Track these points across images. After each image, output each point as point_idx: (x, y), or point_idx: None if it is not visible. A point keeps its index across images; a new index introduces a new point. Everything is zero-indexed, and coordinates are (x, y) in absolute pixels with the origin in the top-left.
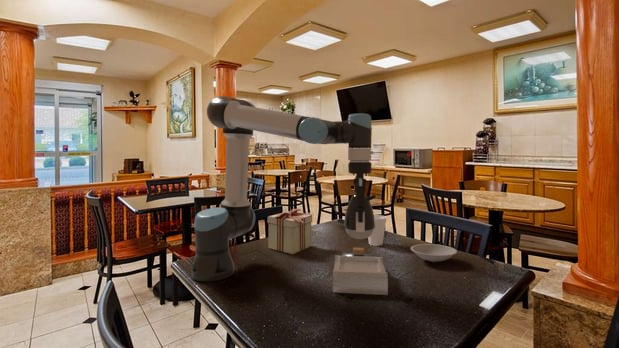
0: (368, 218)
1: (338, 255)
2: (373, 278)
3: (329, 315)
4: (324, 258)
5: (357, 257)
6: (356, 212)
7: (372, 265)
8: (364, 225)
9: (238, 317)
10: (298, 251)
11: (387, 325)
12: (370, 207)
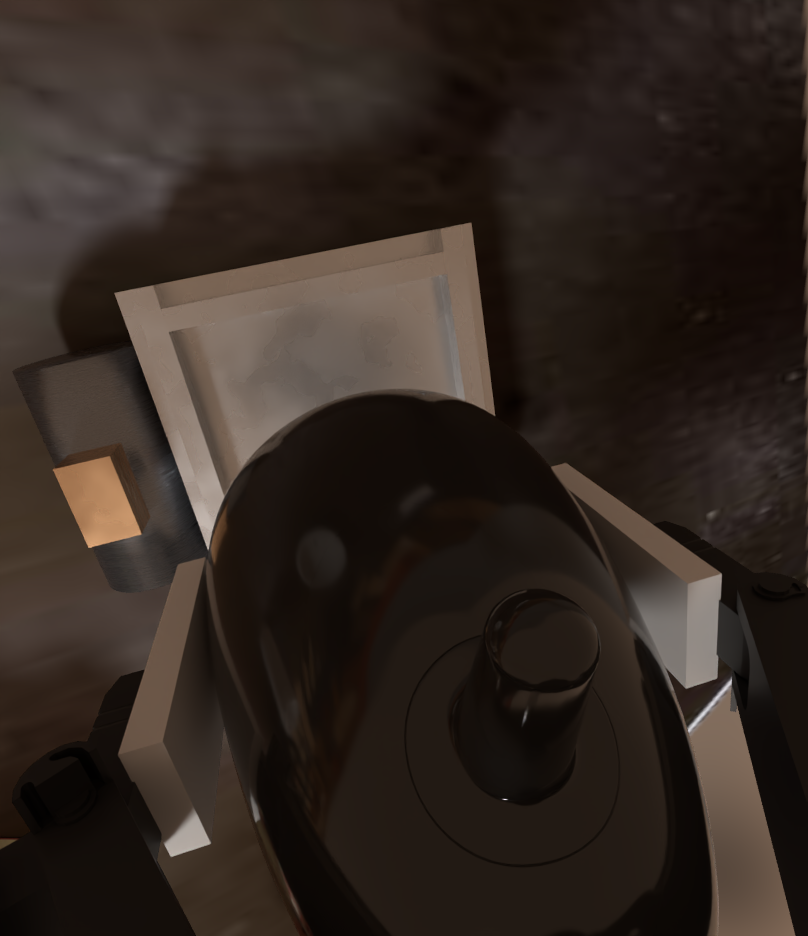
0: (567, 490)
1: None
2: (478, 313)
3: (663, 447)
4: (48, 679)
5: (215, 472)
6: (710, 666)
7: (265, 350)
8: (605, 491)
9: (702, 690)
10: (14, 839)
11: (709, 211)
12: (545, 554)
